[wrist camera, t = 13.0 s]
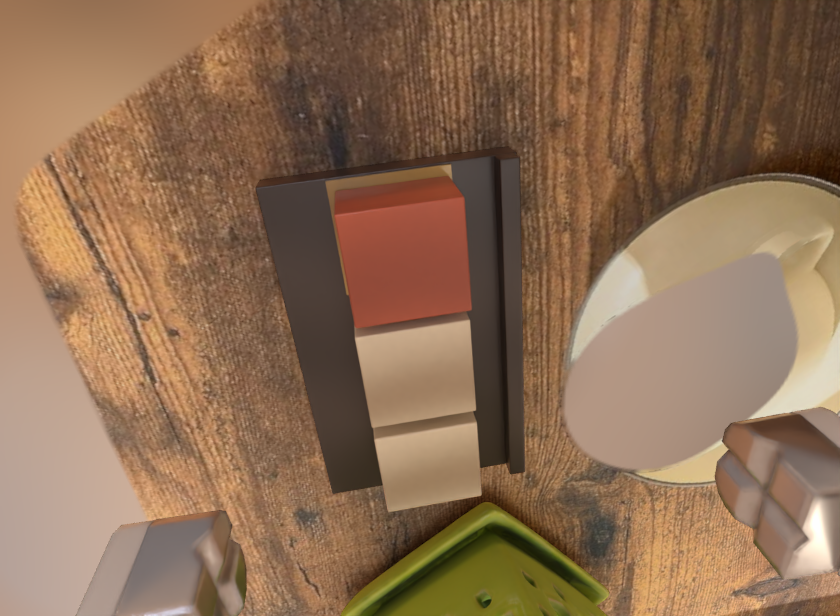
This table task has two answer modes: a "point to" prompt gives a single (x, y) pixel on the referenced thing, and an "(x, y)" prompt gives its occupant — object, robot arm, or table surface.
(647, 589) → the table surface
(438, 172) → the tray
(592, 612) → the flower pot
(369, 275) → the tile
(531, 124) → the table surface
